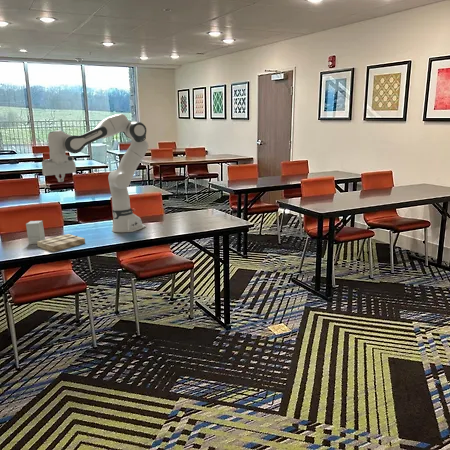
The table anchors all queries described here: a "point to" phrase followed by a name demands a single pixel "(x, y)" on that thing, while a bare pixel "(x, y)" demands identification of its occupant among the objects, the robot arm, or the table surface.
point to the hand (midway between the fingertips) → (60, 181)
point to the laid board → (65, 243)
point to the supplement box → (35, 231)
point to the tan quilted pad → (52, 240)
